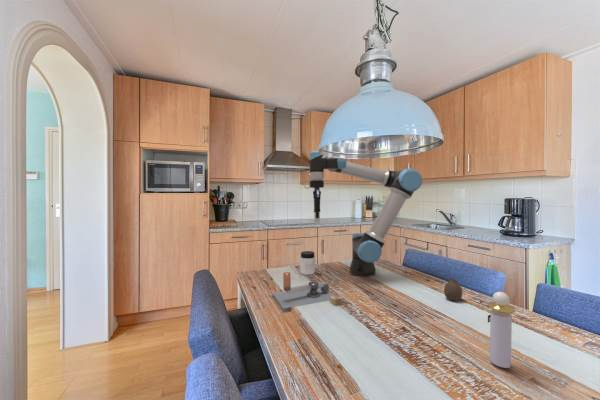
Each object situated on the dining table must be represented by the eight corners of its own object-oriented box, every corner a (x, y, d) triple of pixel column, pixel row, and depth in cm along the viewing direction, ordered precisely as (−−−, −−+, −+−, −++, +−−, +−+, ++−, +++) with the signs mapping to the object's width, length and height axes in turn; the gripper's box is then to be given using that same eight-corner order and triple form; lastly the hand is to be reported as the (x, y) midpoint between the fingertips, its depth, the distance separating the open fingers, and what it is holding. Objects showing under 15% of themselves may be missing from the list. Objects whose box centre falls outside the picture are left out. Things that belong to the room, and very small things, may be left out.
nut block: (337, 294, 110) (342, 298, 107) (337, 304, 111) (342, 307, 107) (329, 296, 109) (334, 299, 105) (329, 305, 109) (334, 309, 105)
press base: (322, 288, 128) (322, 279, 128) (339, 302, 112) (339, 292, 112) (272, 296, 119) (272, 286, 119) (283, 312, 103) (283, 300, 103)
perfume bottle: (519, 372, 68) (520, 296, 67) (497, 372, 68) (497, 296, 67) (503, 358, 73) (504, 288, 73) (482, 358, 74) (483, 288, 73)
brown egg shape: (466, 302, 110) (466, 282, 110) (449, 303, 110) (450, 282, 110) (456, 296, 117) (456, 277, 117) (440, 296, 117) (440, 277, 117)
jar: (301, 275, 150) (301, 254, 150) (299, 271, 158) (299, 251, 158) (316, 274, 151) (316, 253, 151) (313, 270, 159) (313, 250, 159)
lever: (324, 288, 122) (324, 265, 122) (329, 291, 118) (329, 267, 118) (281, 297, 112) (281, 272, 111) (286, 301, 108) (285, 275, 108)
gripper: (309, 180, 146) (309, 222, 147) (310, 179, 133) (311, 225, 134) (322, 180, 147) (322, 222, 147) (325, 179, 134) (325, 225, 134)
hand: (317, 224), depth 141 cm, fingers closed
